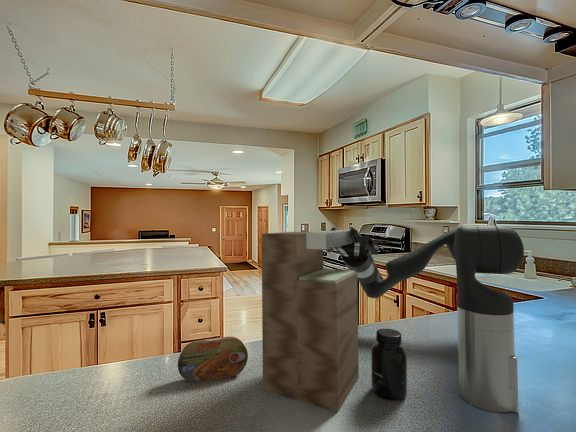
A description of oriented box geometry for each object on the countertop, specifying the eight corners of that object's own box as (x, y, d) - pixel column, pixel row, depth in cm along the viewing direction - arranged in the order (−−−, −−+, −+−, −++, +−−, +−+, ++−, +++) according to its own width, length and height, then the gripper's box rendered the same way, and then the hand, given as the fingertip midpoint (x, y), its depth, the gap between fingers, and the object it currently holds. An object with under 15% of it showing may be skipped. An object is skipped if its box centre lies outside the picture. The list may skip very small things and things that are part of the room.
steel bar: (357, 241, 77) (357, 229, 78) (326, 249, 58) (325, 233, 58) (342, 241, 79) (342, 229, 79) (306, 248, 60) (306, 233, 60)
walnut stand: (358, 377, 68) (356, 232, 69) (337, 412, 56) (335, 234, 57) (293, 363, 76) (292, 231, 77) (262, 390, 63) (261, 233, 64)
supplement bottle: (368, 396, 61) (367, 334, 61) (375, 380, 67) (374, 324, 67) (405, 405, 58) (403, 340, 58) (409, 388, 64) (408, 329, 64)
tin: (177, 385, 66) (177, 345, 66) (178, 378, 69) (178, 339, 69) (248, 375, 70) (248, 337, 70) (246, 369, 73) (246, 333, 73)
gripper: (384, 274, 81) (370, 246, 68) (332, 271, 87) (310, 244, 74) (386, 248, 84) (374, 216, 71) (336, 247, 91) (316, 217, 78)
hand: (341, 231), depth 73 cm, fingers closed on steel bar, 4 cm apart
